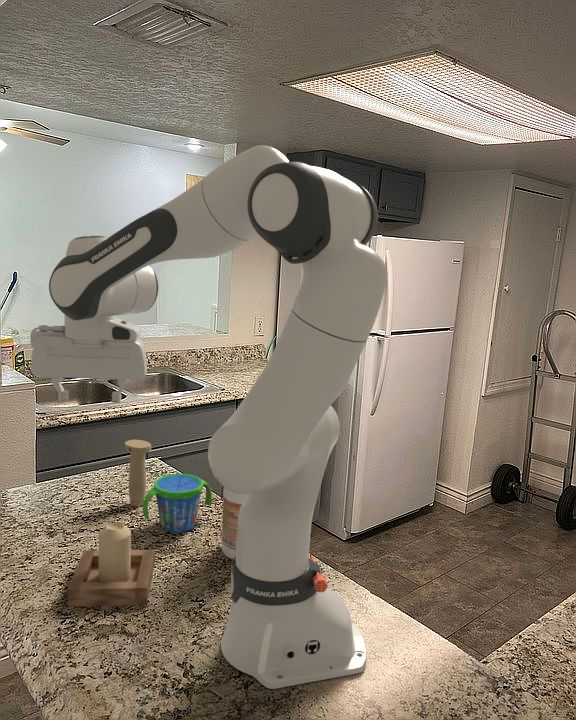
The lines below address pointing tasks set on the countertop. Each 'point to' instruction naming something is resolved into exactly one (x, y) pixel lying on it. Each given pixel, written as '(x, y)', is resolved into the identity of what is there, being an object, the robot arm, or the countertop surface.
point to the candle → (114, 553)
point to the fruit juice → (230, 521)
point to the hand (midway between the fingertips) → (90, 401)
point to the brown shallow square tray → (96, 593)
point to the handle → (137, 470)
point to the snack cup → (177, 501)
